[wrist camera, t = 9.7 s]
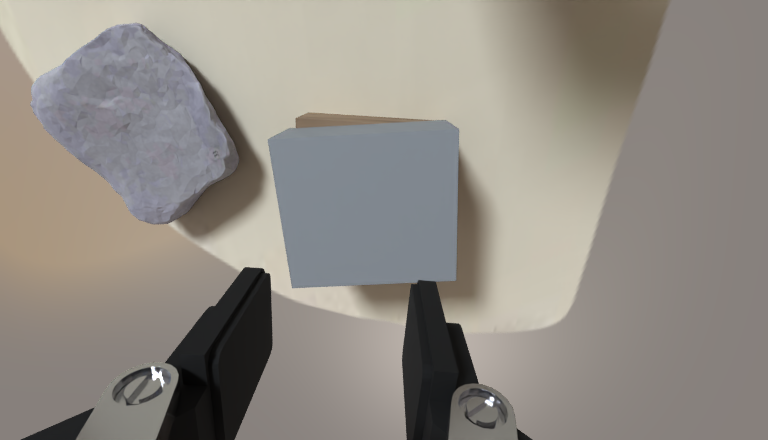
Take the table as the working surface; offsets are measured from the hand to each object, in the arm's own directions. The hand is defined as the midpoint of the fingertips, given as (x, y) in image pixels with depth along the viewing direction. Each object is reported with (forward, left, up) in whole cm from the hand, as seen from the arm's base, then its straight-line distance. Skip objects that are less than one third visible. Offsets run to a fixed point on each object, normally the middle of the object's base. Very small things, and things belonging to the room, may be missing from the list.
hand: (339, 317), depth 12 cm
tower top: (0, +1, -14) cm, 14 cm away
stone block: (-6, -11, -18) cm, 22 cm away
